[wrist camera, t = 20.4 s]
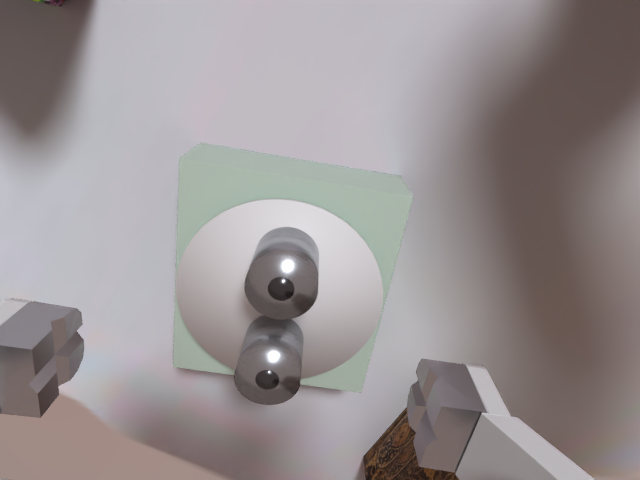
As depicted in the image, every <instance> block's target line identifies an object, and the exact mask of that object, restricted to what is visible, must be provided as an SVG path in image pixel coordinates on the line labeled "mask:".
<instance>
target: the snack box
mask: <svg viewBox="0 0 640 480" xmlns="http://www.w3.org/2000/svg"><path fill="white" fill-rule="evenodd" d="M32 1H36V2H41V3H45V4H50V5H55V6H61V5H62V3H63V2H64V1H65V0H32Z"/></svg>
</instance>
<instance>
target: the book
mask: <svg viewBox="0 0 640 480" xmlns="http://www.w3.org/2000/svg"><path fill="white" fill-rule="evenodd" d="M415 435H416V432H415V431H414V430H413V429H412V428H411V427H410V426H409V421H408V415H407V408H406V409H405V410H404V411H403V412H402V414H401V415H400V416H399V417H398V418H397V419H396V420H395V421H394V423H393V424H392V425H391V426H390V427H389V428H388V429H387V431H386V432H385V433H384V434H383V435H382V436H381V437H380V439H379V440H378V441H377V442H376V443H375V444H374V445H373V447H372V448H371V449H370V450H369V451H368V452H367V453H366V455H365V456H364V466H365V477H366V480H459V478H458V477H457V476H456V475H455V474H456V473H455V472H449V471H443V470H436V469H430V468H424V467H419V465H418V460H417V456H416V452H415V448H414V443H413V441H414V438H415Z"/></svg>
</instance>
